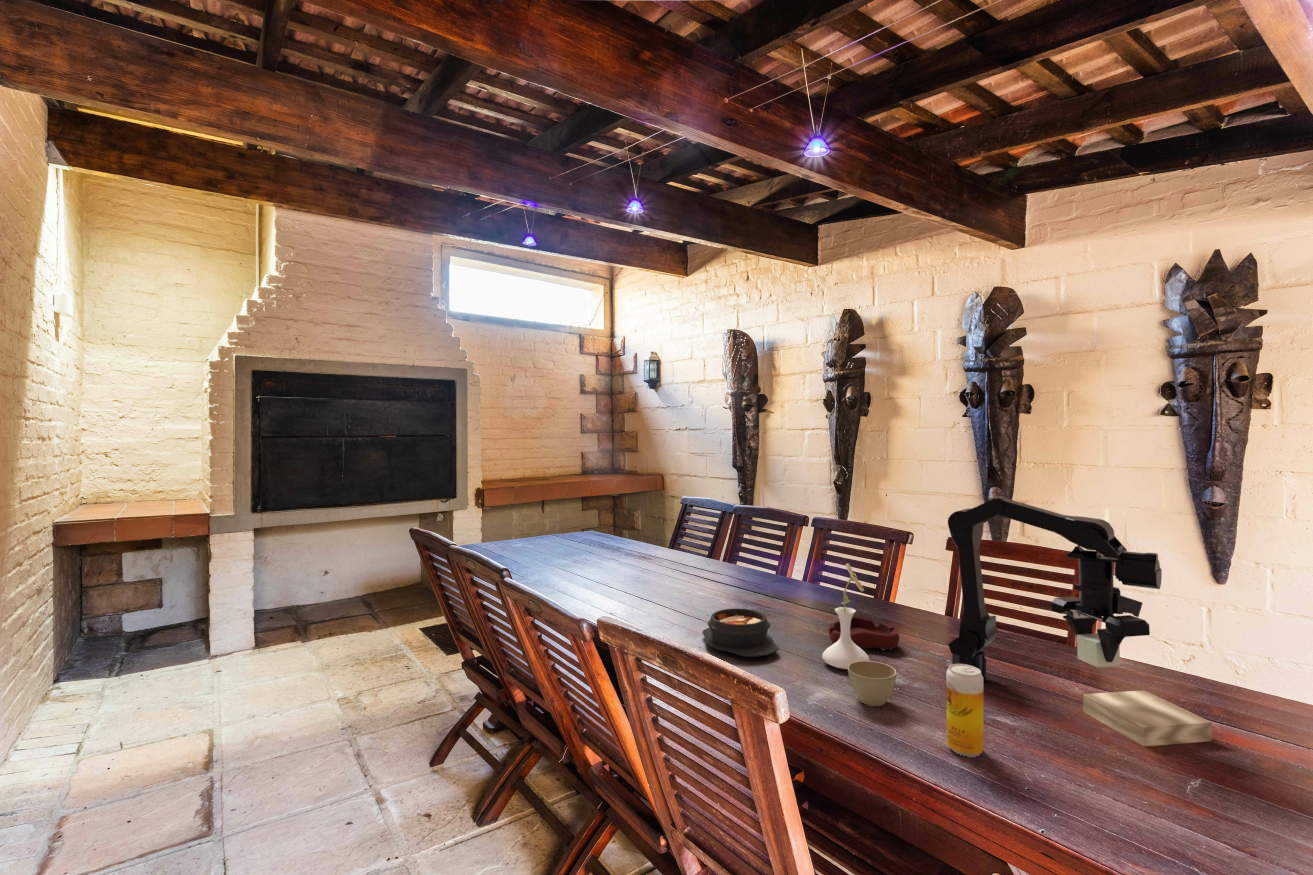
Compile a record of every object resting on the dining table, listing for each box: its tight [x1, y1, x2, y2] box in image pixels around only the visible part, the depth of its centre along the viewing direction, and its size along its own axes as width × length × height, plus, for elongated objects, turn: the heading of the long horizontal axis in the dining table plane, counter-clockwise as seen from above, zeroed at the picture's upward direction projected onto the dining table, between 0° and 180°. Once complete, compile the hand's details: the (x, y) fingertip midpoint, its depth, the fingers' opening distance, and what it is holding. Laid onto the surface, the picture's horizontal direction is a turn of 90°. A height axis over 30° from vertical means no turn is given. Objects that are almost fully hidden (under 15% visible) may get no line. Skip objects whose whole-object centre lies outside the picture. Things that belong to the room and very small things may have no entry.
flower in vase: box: [821, 562, 871, 670], centre depth 154 cm, size 13×11×25 cm
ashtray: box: [828, 616, 900, 650], centre depth 169 cm, size 18×16×5 cm
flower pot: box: [847, 660, 897, 707], centre depth 133 cm, size 10×10×7 cm
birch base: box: [1082, 690, 1213, 747], centre depth 121 cm, size 14×14×4 cm
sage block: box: [1076, 632, 1121, 668], centre depth 126 cm, size 5×5×5 cm
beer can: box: [945, 664, 985, 758], centre depth 113 cm, size 6×6×15 cm
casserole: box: [702, 608, 780, 658], centre depth 167 cm, size 25×19×8 cm
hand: (1098, 657), depth 126 cm, fingers closed on sage block, 5 cm apart
